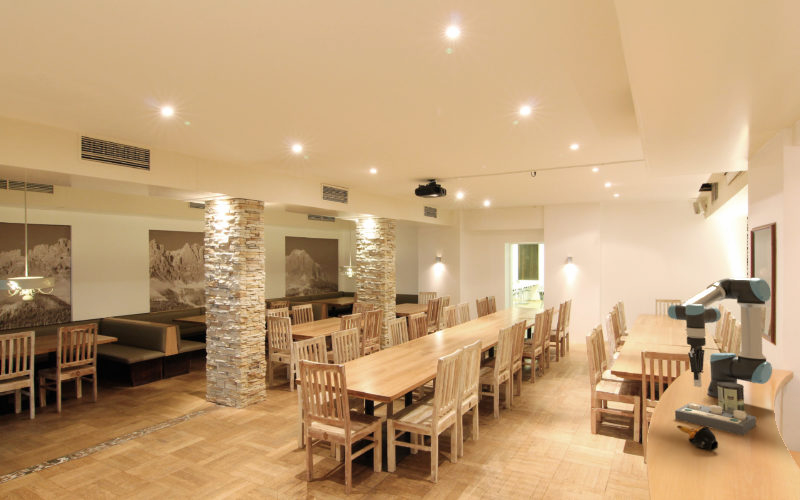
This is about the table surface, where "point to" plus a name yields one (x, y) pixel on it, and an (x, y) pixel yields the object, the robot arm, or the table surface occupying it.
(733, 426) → the button board
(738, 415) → the end button
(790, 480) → the table surface
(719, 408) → the middle button
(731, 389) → the coffee can
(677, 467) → the table surface
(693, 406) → the end button
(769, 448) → the table surface
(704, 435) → the black bulb with handle
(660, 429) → the table surface
